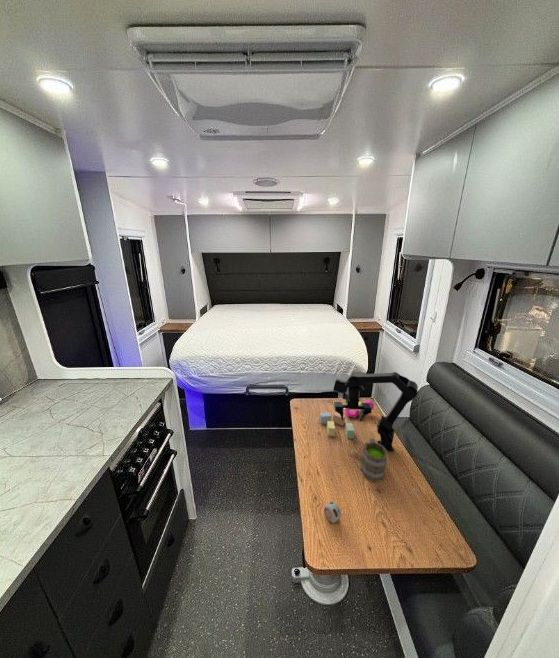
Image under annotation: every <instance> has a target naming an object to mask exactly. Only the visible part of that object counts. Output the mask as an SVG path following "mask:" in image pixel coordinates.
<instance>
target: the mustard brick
mask: <svg viewBox="0 0 559 658" xmlns="http://www.w3.org/2000/svg"><path fill="white" fill-rule="evenodd" d="M326 432H327V436H329V437H335V436H336V435H335V434H336V426H335V423H334V421H333V420H331V421H327V423H326Z"/></svg>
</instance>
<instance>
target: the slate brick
mask: <svg viewBox="0 0 559 658" xmlns="http://www.w3.org/2000/svg"><path fill="white" fill-rule="evenodd" d="M332 416H333V415H332V413H331V412H329V411H328V412H327V411H326V412H320V413H319V423H320V424H321V425H324V424H326V425H327V421H332Z"/></svg>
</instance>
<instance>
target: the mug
mask: <svg viewBox="0 0 559 658" xmlns="http://www.w3.org/2000/svg"><path fill="white" fill-rule="evenodd" d="M362 450H363V451H362V457H361V465H360V468H359V470H360V472H361V474H362V475H363V476H364V478H366V479H368V480H369V481H372V482H381V481H383V480H384V478H385V475H386V467H387V463H388V455H389V452H390V451H387V450H386V449H385V447H384V446H383V445H380V444H378V442H376V440H375V438H373V437H371V438H369V442H365V444H364V446H363V448H362Z"/></svg>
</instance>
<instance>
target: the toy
mask: <svg viewBox="0 0 559 658" xmlns="http://www.w3.org/2000/svg"><path fill="white" fill-rule="evenodd" d="M361 403H362V402H361V401H360V400H359V404H358V405H361ZM363 403H369V404H370V406H371V409H372V410H373V409H374V407H375V403H373V401H372V400H365V401H364V402H363ZM353 410H354V411H353V412H351V409H344V411H345V415H347V417H351V418H354V419H356V418H357V415H358V414H360V411H361V409H353ZM364 418H366V416H365V417H364ZM364 418H363V419H364Z"/></svg>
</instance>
